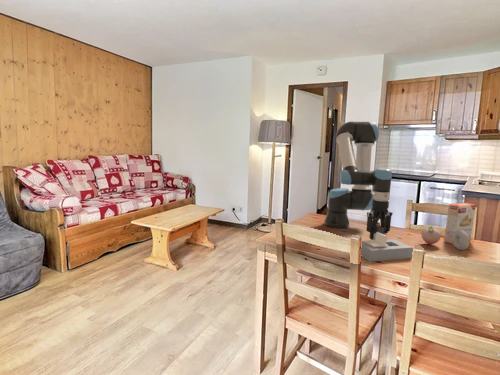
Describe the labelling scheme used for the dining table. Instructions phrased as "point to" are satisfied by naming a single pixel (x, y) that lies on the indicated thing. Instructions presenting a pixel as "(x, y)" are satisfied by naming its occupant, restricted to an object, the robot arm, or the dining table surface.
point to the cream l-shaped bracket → (378, 241)
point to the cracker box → (459, 220)
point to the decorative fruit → (430, 235)
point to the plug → (379, 228)
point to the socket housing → (387, 251)
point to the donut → (461, 240)
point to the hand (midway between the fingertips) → (376, 245)
